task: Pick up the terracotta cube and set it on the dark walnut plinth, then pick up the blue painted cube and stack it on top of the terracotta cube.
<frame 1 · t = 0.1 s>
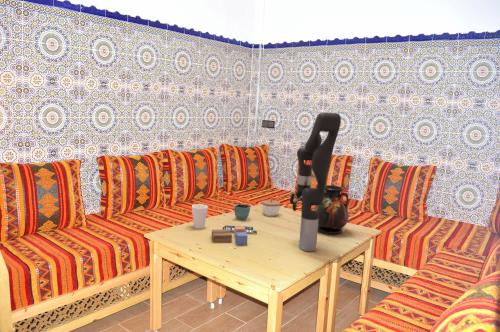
hand: (301, 210, 223), 17 cm above the table, tool pointing down, fingers open, 8 cm apart
amphora vase: (329, 231, 244), on the table
lidded bowl: (270, 215, 274), on the table
flower pot: (241, 219, 260), on the table
blue block: (241, 243, 215), on the table
foam cup: (199, 227, 239), on the table
plinth: (221, 239, 219), on the table
terracotta block: (239, 236, 225), on the table
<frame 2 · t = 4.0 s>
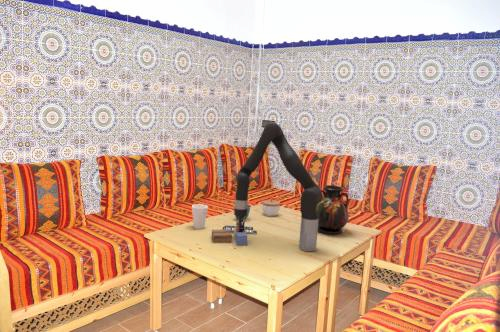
hand: (239, 235, 225), 1 cm above the table, tool pointing down, fingers closed on terracotta block, 5 cm apart
terracotta block: (239, 236, 225), on the table, touching gripper
everything else where it was.
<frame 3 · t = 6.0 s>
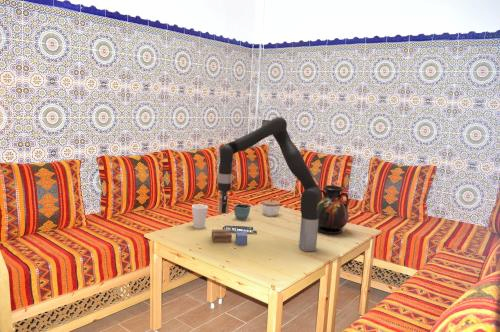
hand: (223, 211, 218), 16 cm above the table, tool pointing down, fingers closed on terracotta block, 5 cm apart
terracotta block: (222, 212, 218), point 15 cm above the table, touching gripper
everything else where it was.
when the fingers open (5 cm above the table, at t = 8.4 s): terracotta block stays where it is, resting on plinth.
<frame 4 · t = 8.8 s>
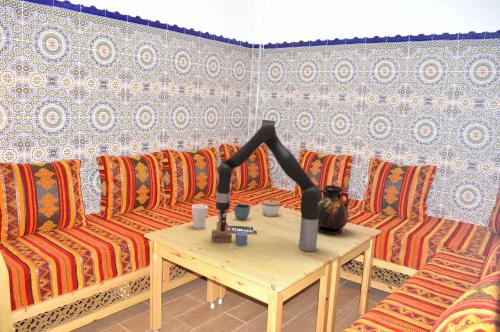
hand: (221, 228, 218), 6 cm above the table, tool pointing down, fingers open, 8 cm apart
terracotta block: (221, 232, 219), point 4 cm above the table, touching plinth
everything else where it was.
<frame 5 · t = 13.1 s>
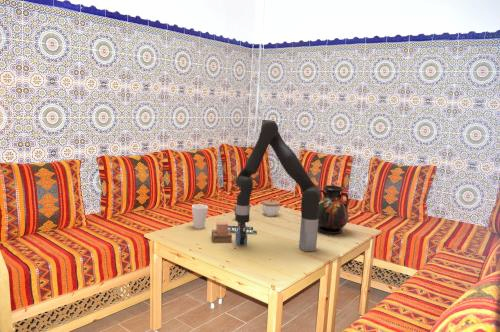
hand: (241, 242, 214), 1 cm above the table, tool pointing down, fingers closed on blue block, 5 cm apart
blue block: (241, 243, 215), on the table, touching gripper
everything else where it was.
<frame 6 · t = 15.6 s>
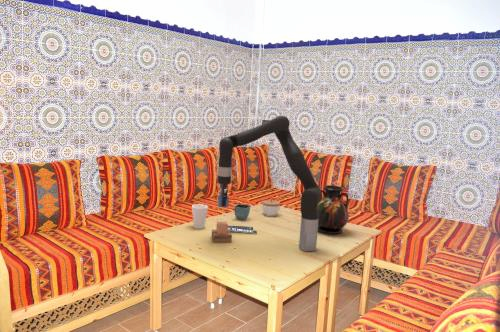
hand: (222, 204, 216), 20 cm above the table, tool pointing down, fingers closed on blue block, 5 cm apart
blue block: (222, 205, 217), point 19 cm above the table, touching gripper
everything else where it was.
when the fingers open (11 cm above the table, at t = 18.1 s): blue block stays where it is, resting on terracotta block.
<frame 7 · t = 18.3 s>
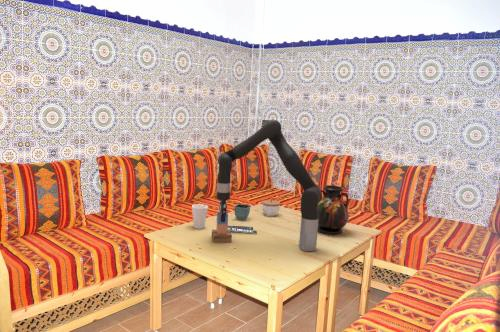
hand: (222, 219, 218), 11 cm above the table, tool pointing down, fingers open, 7 cm apart
blue block: (222, 222, 218), point 9 cm above the table, touching terracotta block
terracotta block: (221, 232, 219), point 4 cm above the table, touching blue block, plinth
everything else where it was.
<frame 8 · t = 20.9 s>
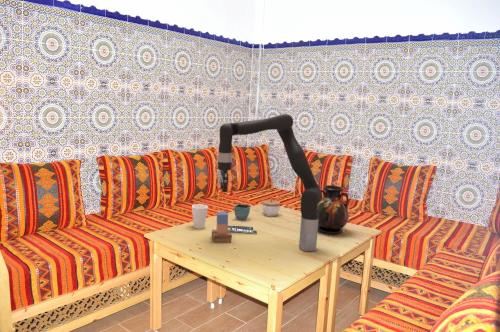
hand: (223, 190, 215), 28 cm above the table, tool pointing down, fingers open, 8 cm apart
nothing on the table moved.
at the end: terracotta block 0.1 cm off-centre on the plinth, point 4.0 cm above the plinth's base; blue block 0.0 cm off-centre on the terracotta block, point 5.5 cm above the terracotta block's base; the gripper is holding nothing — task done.
